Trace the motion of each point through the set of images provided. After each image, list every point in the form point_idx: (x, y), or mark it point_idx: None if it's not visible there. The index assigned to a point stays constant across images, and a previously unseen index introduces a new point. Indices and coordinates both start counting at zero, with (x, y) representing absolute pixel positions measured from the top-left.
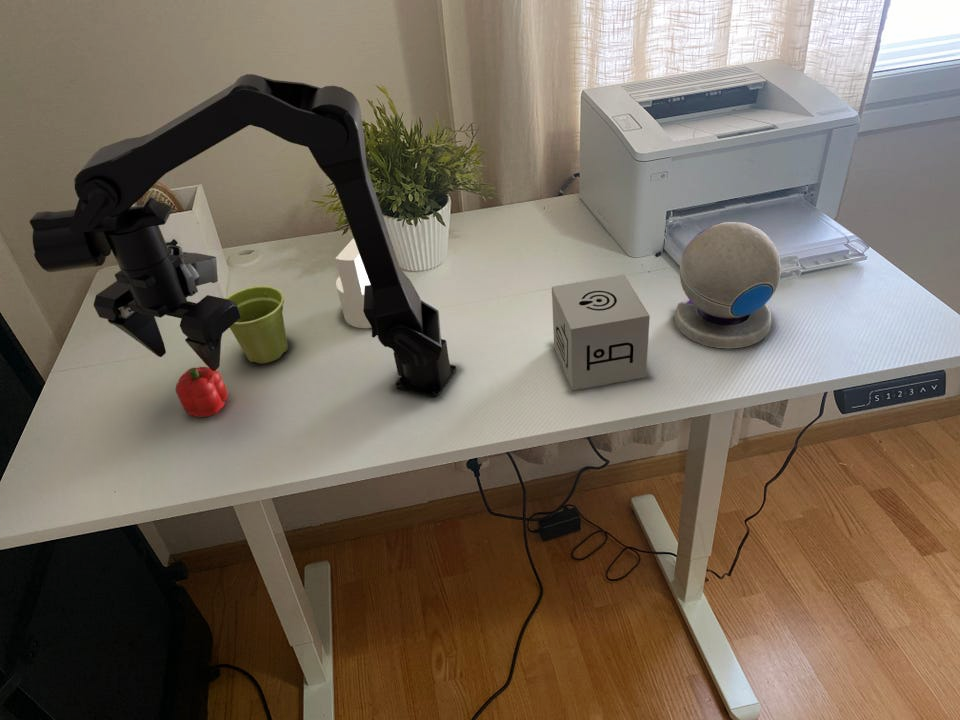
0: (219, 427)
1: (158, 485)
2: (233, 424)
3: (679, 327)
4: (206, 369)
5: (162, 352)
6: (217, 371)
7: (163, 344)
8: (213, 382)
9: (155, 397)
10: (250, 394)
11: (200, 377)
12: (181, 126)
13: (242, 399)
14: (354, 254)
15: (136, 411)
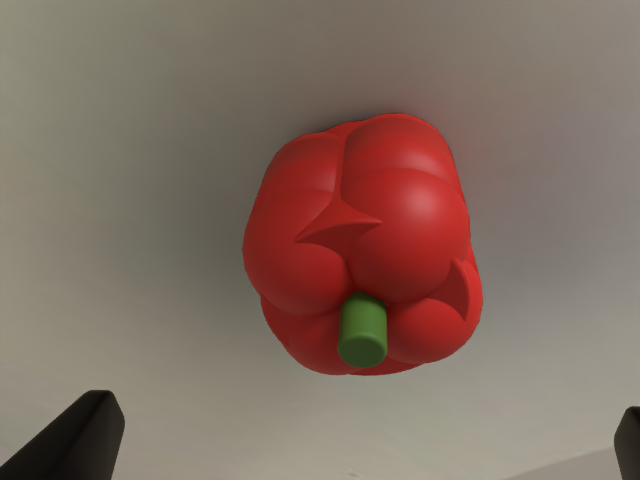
0: (492, 253)
1: (451, 446)
2: (545, 225)
3: None
4: (394, 263)
5: (108, 423)
6: (436, 203)
7: (72, 447)
8: (465, 268)
9: (90, 209)
10: (517, 34)
11: (391, 302)
12: None
13: (494, 84)
14: None
15: (107, 283)
